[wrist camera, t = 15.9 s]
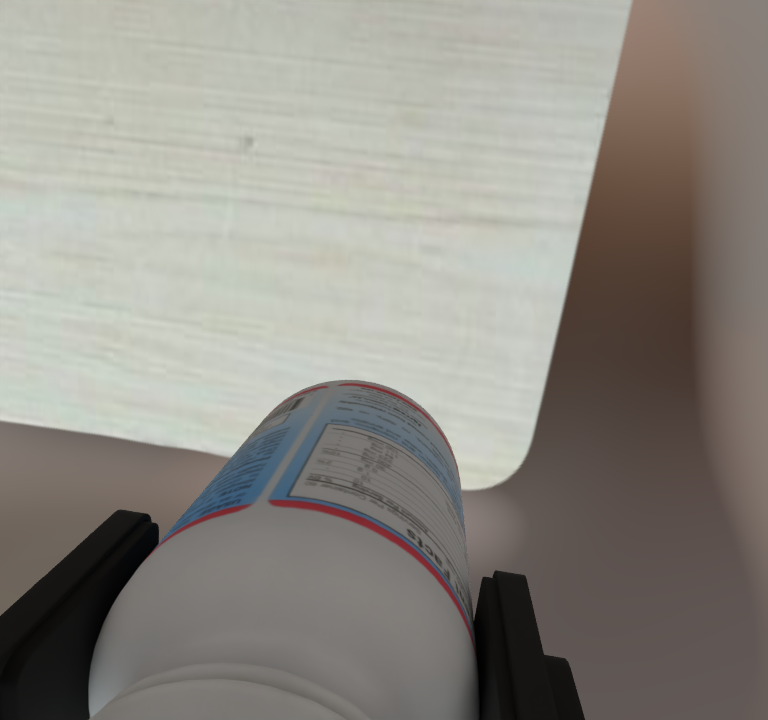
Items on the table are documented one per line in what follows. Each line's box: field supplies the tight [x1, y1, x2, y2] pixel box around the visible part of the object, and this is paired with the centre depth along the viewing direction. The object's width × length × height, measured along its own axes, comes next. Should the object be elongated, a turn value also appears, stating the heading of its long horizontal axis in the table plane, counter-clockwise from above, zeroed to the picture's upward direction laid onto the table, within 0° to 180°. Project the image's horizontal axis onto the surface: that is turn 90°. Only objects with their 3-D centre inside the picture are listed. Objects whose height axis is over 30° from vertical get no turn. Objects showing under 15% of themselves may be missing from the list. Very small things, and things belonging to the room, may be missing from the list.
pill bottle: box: [88, 380, 480, 720], centre depth 11 cm, size 6×6×11 cm
